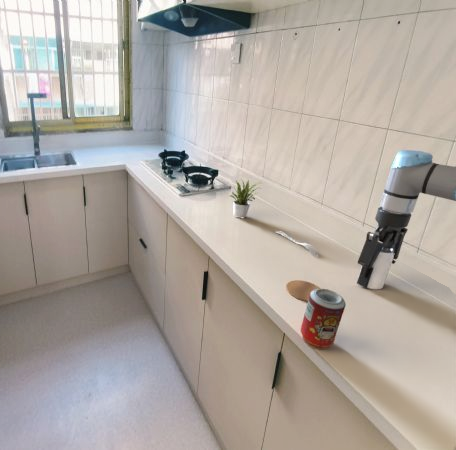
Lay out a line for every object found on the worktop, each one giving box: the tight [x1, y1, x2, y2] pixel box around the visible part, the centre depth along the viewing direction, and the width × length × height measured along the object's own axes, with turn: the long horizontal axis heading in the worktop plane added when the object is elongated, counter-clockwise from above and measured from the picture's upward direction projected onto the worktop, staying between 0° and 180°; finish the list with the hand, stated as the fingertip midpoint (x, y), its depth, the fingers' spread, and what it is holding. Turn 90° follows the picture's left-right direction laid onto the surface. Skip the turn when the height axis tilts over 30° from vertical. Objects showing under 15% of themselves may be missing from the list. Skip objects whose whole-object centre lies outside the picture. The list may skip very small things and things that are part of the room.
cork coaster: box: [285, 279, 322, 303], centre depth 95 cm, size 10×10×1 cm
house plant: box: [227, 178, 262, 218], centre depth 141 cm, size 14×14×16 cm
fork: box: [275, 230, 320, 258], centre depth 122 cm, size 3×21×3 cm, turn 20°
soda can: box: [300, 288, 347, 350], centre depth 74 cm, size 7×7×12 cm
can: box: [357, 247, 394, 291], centre depth 97 cm, size 6×6×12 cm
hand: (370, 282), depth 99 cm, fingers closed on can, 6 cm apart
